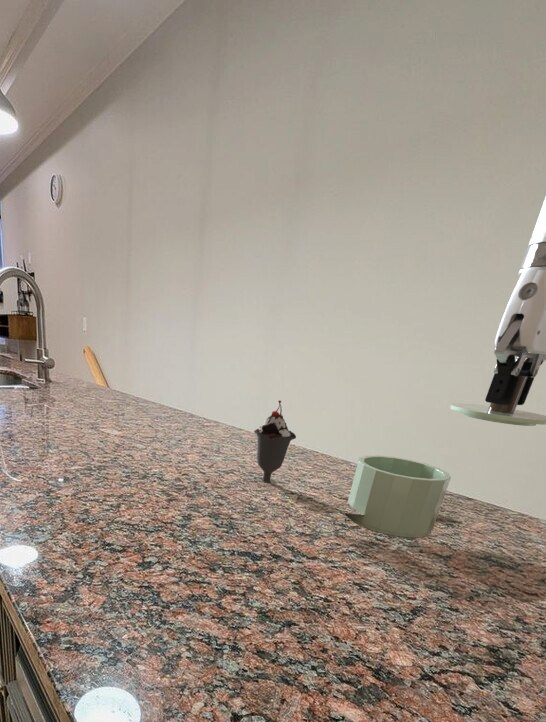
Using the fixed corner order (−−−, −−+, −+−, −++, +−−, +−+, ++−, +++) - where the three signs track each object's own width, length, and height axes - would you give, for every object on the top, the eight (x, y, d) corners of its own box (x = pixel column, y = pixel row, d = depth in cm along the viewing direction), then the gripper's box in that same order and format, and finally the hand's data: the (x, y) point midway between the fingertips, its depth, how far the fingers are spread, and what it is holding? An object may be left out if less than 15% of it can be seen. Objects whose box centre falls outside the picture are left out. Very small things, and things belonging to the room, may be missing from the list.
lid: (486, 411, 75) (500, 372, 72) (573, 429, 63) (594, 383, 61) (429, 409, 70) (442, 367, 68) (512, 428, 59) (531, 378, 57)
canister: (386, 503, 75) (401, 455, 72) (450, 534, 65) (470, 479, 61) (328, 507, 71) (341, 455, 68) (386, 540, 61) (404, 481, 57)
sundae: (269, 483, 80) (285, 398, 74) (292, 497, 74) (310, 406, 68) (237, 485, 78) (251, 397, 72) (258, 499, 72) (275, 405, 66)
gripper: (563, 250, 52) (503, 408, 59) (617, 270, 60) (558, 408, 67) (494, 255, 58) (447, 398, 65) (551, 273, 66) (503, 399, 73)
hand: (504, 402), depth 66 cm, fingers closed on lid, 3 cm apart
